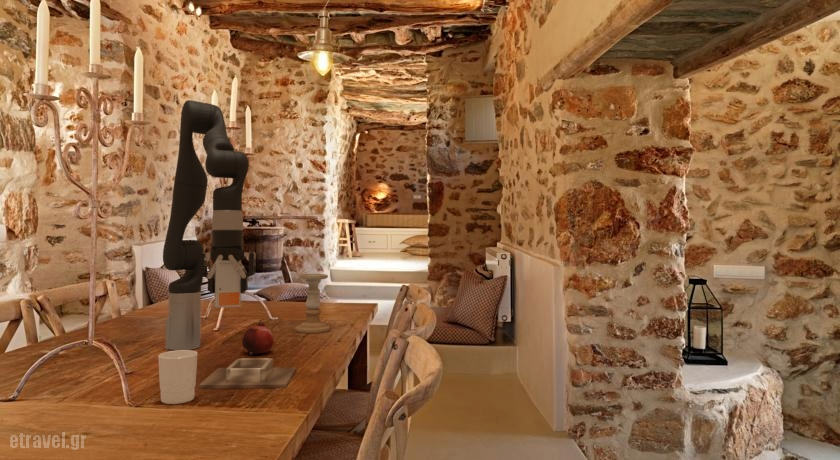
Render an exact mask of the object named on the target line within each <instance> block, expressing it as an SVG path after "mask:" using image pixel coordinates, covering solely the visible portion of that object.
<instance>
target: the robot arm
mask: <svg viewBox="0 0 840 460" xmlns="http://www.w3.org/2000/svg"><path fill="white" fill-rule="evenodd" d="M179 126H180V127H179V129H180V130H179V141H178V142H179V144H178V146H179V147H178V154H177V162H176V168H175V175H174V180H173V190H172V201H171V209H170V215H169V223H168V227H167V231H166V234H165V241H164V245H163V250H162V262H163V266H164V268H166V270H168V271H184V272H183V273H184V274H182V276H181V277H180V278H178V279H176V280H173V281H171V282H170V283H169V285H168V316H167V317H166V318H165V350H170V351H177V350H191V351H192V350H194V349H198V348H201V341H202V339H201V335H202V334H201V333H202V331H201V329H202V326H201V325H202V323H201V322H202V321H201V319H202V316H201V315H202V309H201V308H202V284H203V281H204V280H203V279H204V278H206V279H207V291H208V292H209V293H210V294H211V295H213V294H214V295H215V272H216V267H215V266H216V260H230V261H231V262H232V264H233V265H234V267H235V269H236V270H237V271H238V272H239V274H240V276H241V279H240V285H241V294H245V293H246V291H247V290H248V289H249V286H248V285H249V284H248V283H249V282H248V281H249V277H252V276H255V275H256V269H257V268H256V260H257V252H255V251H251V252H245V249H244V219H243V218H244V217H243V202H242V200H243V197H242V196H243V192H244V191H243V190H244V186H245V181H246V177H247V174H248V172H249V168H250V160H249V158H248V156H247V154H245V153H244V152H243V151H238V150H235V148H234V145H233V144H232V142H231V139H230V137H229V136H228V133H227V129H226V122H225V118H224V114H223V111H222V109H221V107H219V106H217V105H215V104H212V103H207V102H202V101H196V100H189V99H188V100H186V101H185V102H184V103H183V105H182V109H181V115H180V125H179ZM193 134H199V135H203V138H202V146H203V149H204V151H205V154H206V158H205V163H204V167H205V168H204V167H203V164H202V162H201V161H200V158H199V157H198V155H197V152H196V149H195V146H194V138H193ZM207 175H209V176H211V177H212V178H217V179H218V178H219V179H232V182H231V183H230V184H229V185H227V186H226V185H225V186H221V187H216V188H215V189H214V190H213V192H212V219H211V251H210V252H205V251H204V246H203V243H202V242H200V241H199V240H196V239H184V236H185V235H184V234H185V232H186V229H187V227H188V225H189V224H190V222H191V221H192V219H193V218H194V217H195V216H196V214H197V213H198V212H199V211H200V209H201V208H202V206H203V205H204V203H205V201H206V198H207V197H206V196H207V189H208V183H209V182H208V180H209V179H208V176H207ZM210 258H211V259H212V261H213V262H214V263H212V264H213V265H212V266H211V267H210V271H209V272H208V261H209V260H210ZM244 258H246V260H247V261H248V271H247V270H246V269H245V266H244V265H243V263H242V260H243V259H244ZM240 260H241V266H240V265H239V263H238V262H239V261H240Z"/></svg>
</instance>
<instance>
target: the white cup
mask: <svg viewBox="0 0 840 460" xmlns="http://www.w3.org/2000/svg"><path fill="white" fill-rule="evenodd" d="M157 356H158V358H157V359H158V374H159V375H158V377H159V378H158V379H159V389H160V402H161V403H163V404H167V405H179V404H185V403H188V402H191V401H192V400H194V399H195V391H196V390H195V389H196V385H197V384H196V382H197V381H196V380H197V371H198V351H196V350H192V349H191V350H170V351H169V350H168V351H165V352H161V353H160V354H158V355H157Z"/></svg>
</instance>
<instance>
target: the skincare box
mask: <svg viewBox="0 0 840 460" xmlns="http://www.w3.org/2000/svg"><path fill="white" fill-rule="evenodd" d="M238 263H239V265H240V266H241V263H242V261H241V260H240V261H239V262H238ZM215 267H216V272H215V277H214V279H215V293H214V306H215V308H216V309H219V308H220V309H221V308H238V307H239V308H240V307H242V305H241V303H242V301H241V299H242V293H241V285H240V279H242V277H241V276H240V274H239V272H238V271H237V270H236V269H235V267H234V265H233V264H232V262H231V261H230V260H216V266H215Z"/></svg>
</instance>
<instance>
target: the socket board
mask: <svg viewBox="0 0 840 460" xmlns="http://www.w3.org/2000/svg"><path fill="white" fill-rule="evenodd" d="M296 368H297V367H295V366H292V367H290V366H289V367H285V366H283V367H276V366H275V367H274V358H271V357H270V358H266V357H265V358H263V357H262V358H258V357H257V358H254V357H253V358H249V357H248V358H246V357H245V358H237V359H236V360H234V361H233V362H232V363H231V364H230V365H229V366H227V367H217V368H216V369H215V370H214V371H213V372H211V374H210V375H209V376H207V377H206V378H205V379H204V380H203V381H202V382H201V383H200V384H198V389H199V390H200V389H203V390H204V389H207V390H208V389H214V390H215V389H286V388H287V387H288V385H289V383H290V381H291V380H292V377H293V376H294V374H295V372H296V371H297V369H296Z"/></svg>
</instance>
